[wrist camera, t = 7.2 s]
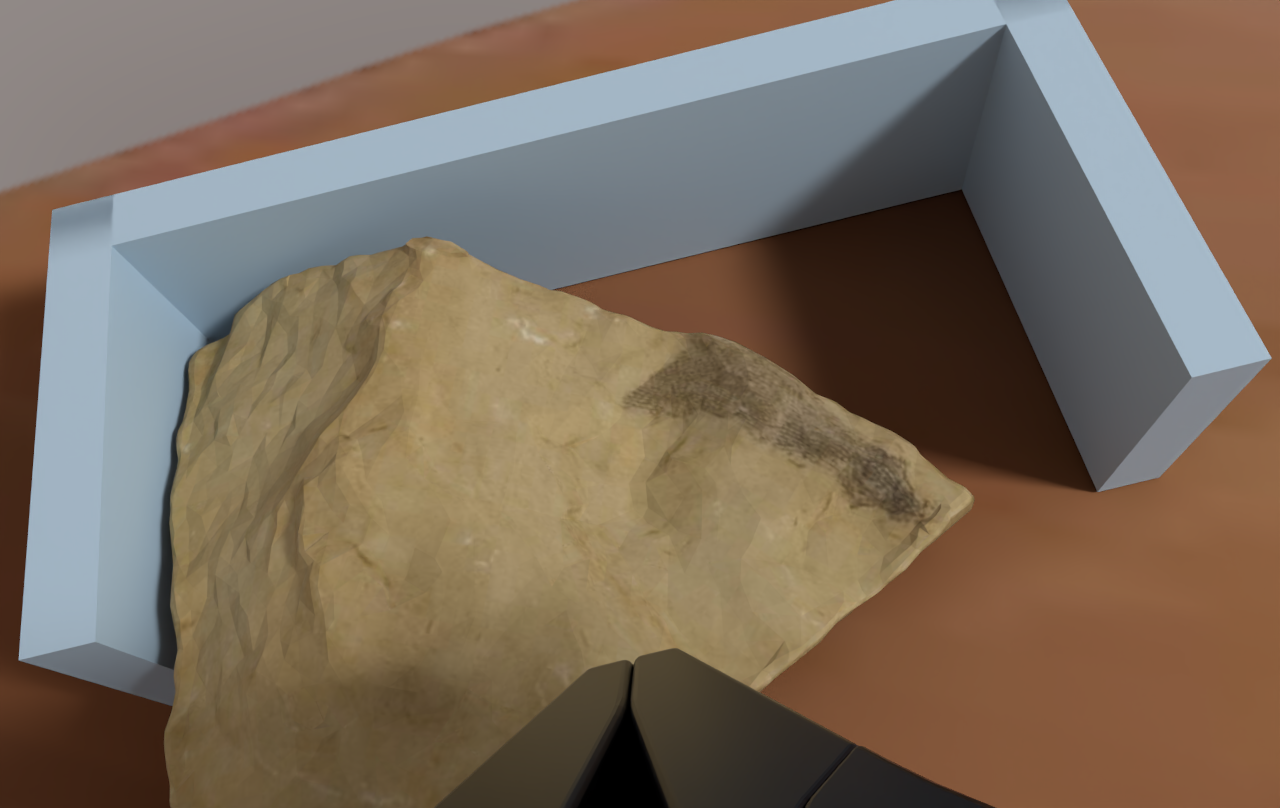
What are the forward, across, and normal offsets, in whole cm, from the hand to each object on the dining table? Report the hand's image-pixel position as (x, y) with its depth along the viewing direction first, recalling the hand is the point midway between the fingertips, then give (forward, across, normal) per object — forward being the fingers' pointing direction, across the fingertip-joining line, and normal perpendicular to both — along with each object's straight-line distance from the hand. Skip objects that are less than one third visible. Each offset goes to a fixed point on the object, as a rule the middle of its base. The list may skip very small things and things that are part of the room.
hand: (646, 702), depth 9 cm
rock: (+3, 0, -3) cm, 5 cm away
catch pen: (+9, 0, 0) cm, 9 cm away
